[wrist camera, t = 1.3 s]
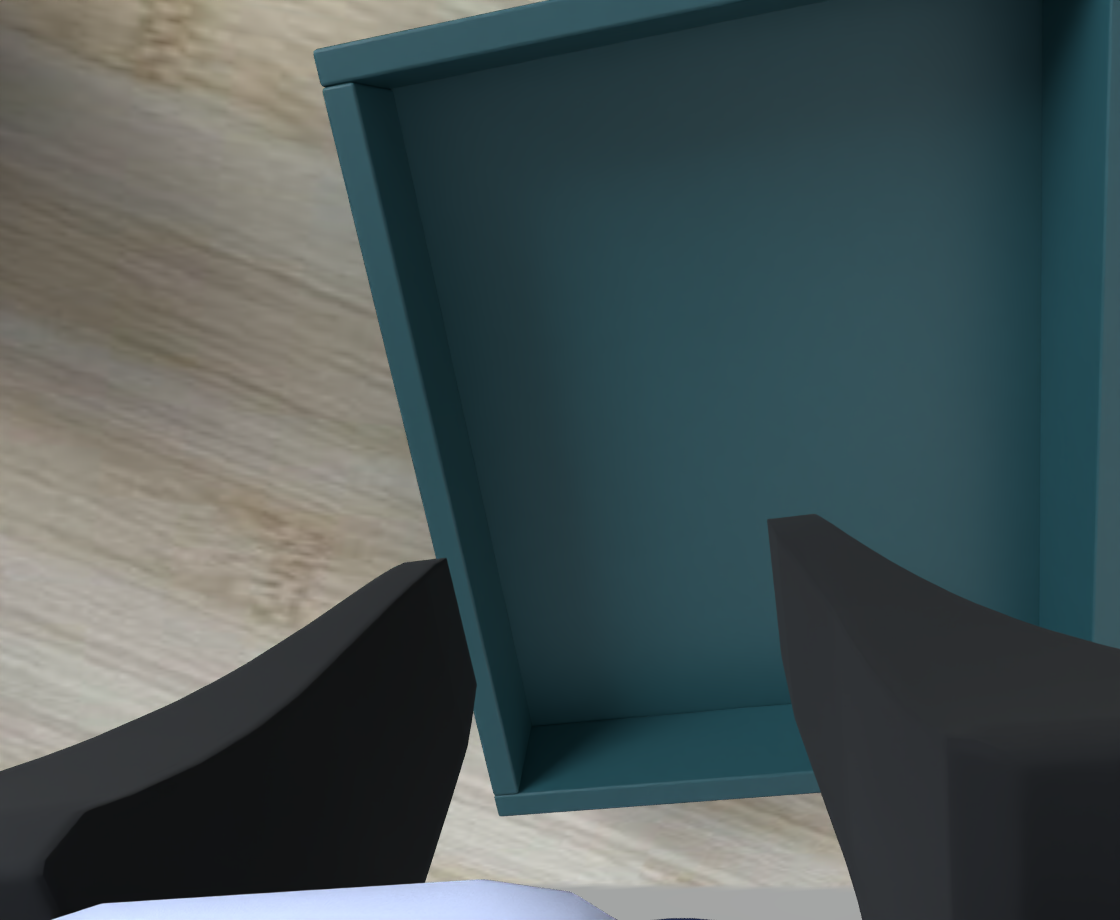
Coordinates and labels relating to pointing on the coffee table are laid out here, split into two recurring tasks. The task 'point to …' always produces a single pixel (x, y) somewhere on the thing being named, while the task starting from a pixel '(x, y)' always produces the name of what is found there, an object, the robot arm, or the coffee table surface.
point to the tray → (736, 344)
